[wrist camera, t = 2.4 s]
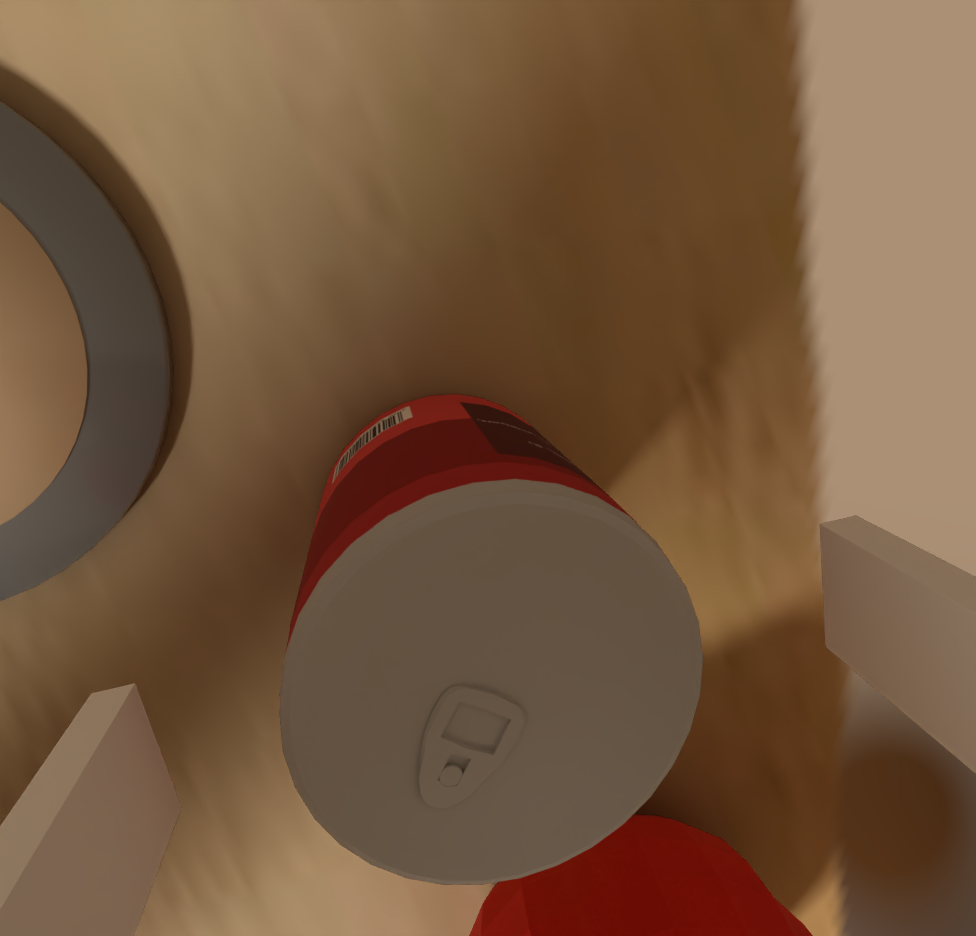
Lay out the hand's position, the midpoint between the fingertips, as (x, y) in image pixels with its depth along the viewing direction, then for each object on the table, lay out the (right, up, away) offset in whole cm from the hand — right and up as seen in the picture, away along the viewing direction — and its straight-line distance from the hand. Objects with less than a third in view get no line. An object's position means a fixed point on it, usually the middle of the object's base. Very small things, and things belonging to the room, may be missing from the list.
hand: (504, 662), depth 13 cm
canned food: (-2, +2, +10) cm, 10 cm away
